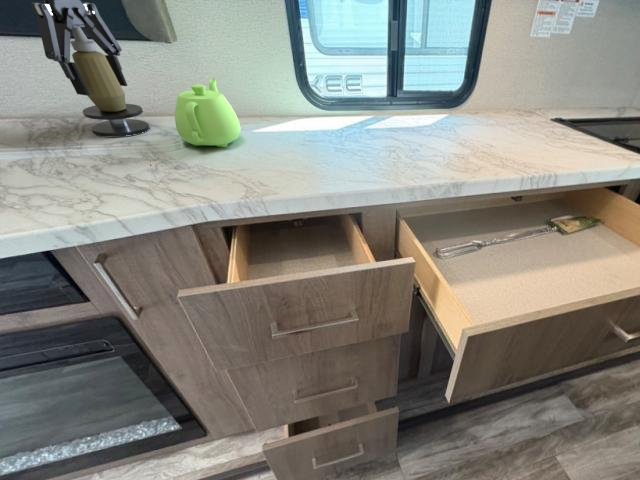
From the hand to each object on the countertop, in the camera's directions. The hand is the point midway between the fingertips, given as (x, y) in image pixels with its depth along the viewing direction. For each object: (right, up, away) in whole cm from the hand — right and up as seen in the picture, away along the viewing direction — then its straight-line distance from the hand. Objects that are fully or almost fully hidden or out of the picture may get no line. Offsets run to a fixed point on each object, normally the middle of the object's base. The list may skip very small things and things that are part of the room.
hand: (103, 89), depth 85 cm
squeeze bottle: (0, -3, +3) cm, 5 cm away
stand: (-1, -7, +6) cm, 10 cm away
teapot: (+25, -10, +6) cm, 28 cm away
